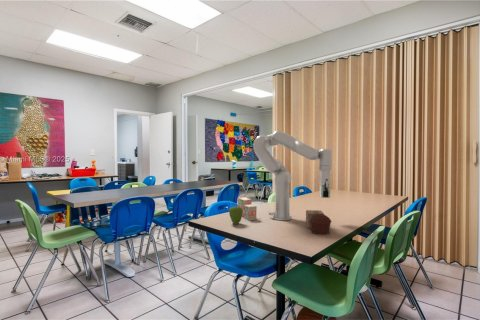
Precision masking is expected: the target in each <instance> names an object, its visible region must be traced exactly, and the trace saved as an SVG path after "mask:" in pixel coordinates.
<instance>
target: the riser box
mask: <svg viewBox="0 0 480 320" xmlns="http://www.w3.org/2000/svg"><path fill="white" fill-rule="evenodd" d="M316 214H323V215H325V213H324V211H322V210H318V209H317V210H315V209H314V210H313V209H311V210H310V209H308V210H305V225H306V227H307V229H308V230H312V228H311V222H310V219H311V217H312V216H314V215H316Z"/></svg>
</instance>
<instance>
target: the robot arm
mask: <svg viewBox="0 0 480 320" xmlns="http://www.w3.org/2000/svg"><path fill="white" fill-rule="evenodd" d="M252 145H253V152H254V154H255V155H256V157H257V158H258V160H259V161H260V162H261V164H262V165H263V167H265V168H264V169H266V170H267V172H269V173H271V174H273V175H274V176H275V177H274V192H275V193H274V194H275V196H274V198H275V199H274V203H275V206H274V207H275V209H274V211H270V212H269V211H268V215H269V216H273V217H272V219H274V220H276V221H290V220H292V219H293V216H292V215H290V214H291V213H290V211H291V210H290V182H291V181H292V175H291V173H290V171H289V170H288V169H287V167H286V166H285V165H284V164H283V162H281V161H280V160H279V159H278V158H274V156H273V155H272V154H271V152H270V151H269V150H268V149H267V148H271V147H274V146H277V145H278V146H282V147H284V148H286V149H288V150H289V151H291V152H293V153H296V154H298V155H299V156H301V157H304V158H306V159H308V160H309V161H317V160H318V161H319V164H318V170H319V181H318V182H319V184H318V185H319V186H324V191H323V197H328V193H329V189H328V186H329V187H331V185H330V184H331V171H332V162H333V161H332V159H333V152H332V151H333V150H332V149H330V148H321V149H319V148H315V147H312V146H310V145H307V144H306V143H304V142H302V141H300V140H299V139H298V138H297V137H294V136H292V135H290V134H288V133H286V132H285V131H282V130H275V131H274V132H273V133H272V134H268V135H258V136H256V138H255V139H254V141H253V144H252Z"/></svg>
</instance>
